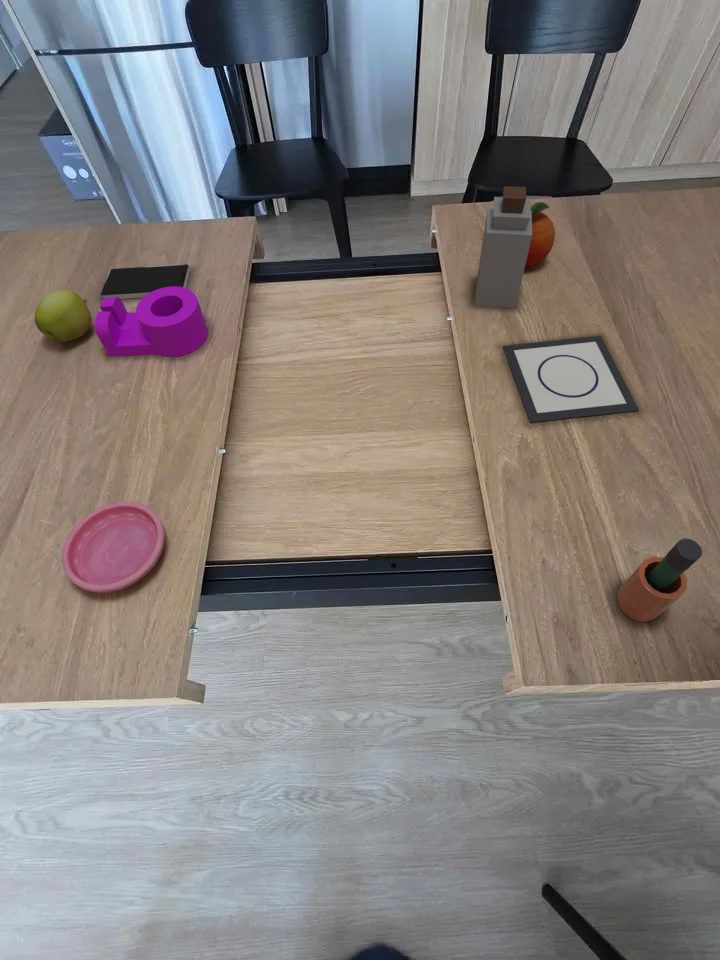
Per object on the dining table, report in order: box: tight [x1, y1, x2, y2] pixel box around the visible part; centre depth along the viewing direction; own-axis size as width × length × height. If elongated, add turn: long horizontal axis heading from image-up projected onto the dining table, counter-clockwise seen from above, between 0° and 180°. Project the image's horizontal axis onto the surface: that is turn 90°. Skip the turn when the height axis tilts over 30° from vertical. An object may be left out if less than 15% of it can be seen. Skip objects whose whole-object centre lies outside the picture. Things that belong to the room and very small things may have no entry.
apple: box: [34, 289, 92, 343], centre depth 92 cm, size 8×9×8 cm
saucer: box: [61, 501, 166, 594], centre depth 70 cm, size 12×12×3 cm
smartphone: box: [100, 263, 191, 300], centre depth 102 cm, size 8×1×15 cm
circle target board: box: [502, 335, 640, 424], centre depth 84 cm, size 16×16×1 cm
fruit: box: [525, 201, 556, 268], centre depth 97 cm, size 10×10×10 cm
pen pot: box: [616, 556, 688, 623], centre depth 62 cm, size 5×5×7 cm
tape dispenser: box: [94, 286, 209, 358], centre depth 91 cm, size 16×10×6 cm, turn 91°
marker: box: [645, 538, 703, 593], centre depth 59 cm, size 2×2×13 cm
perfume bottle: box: [474, 185, 532, 310], centre depth 89 cm, size 7×7×18 cm
